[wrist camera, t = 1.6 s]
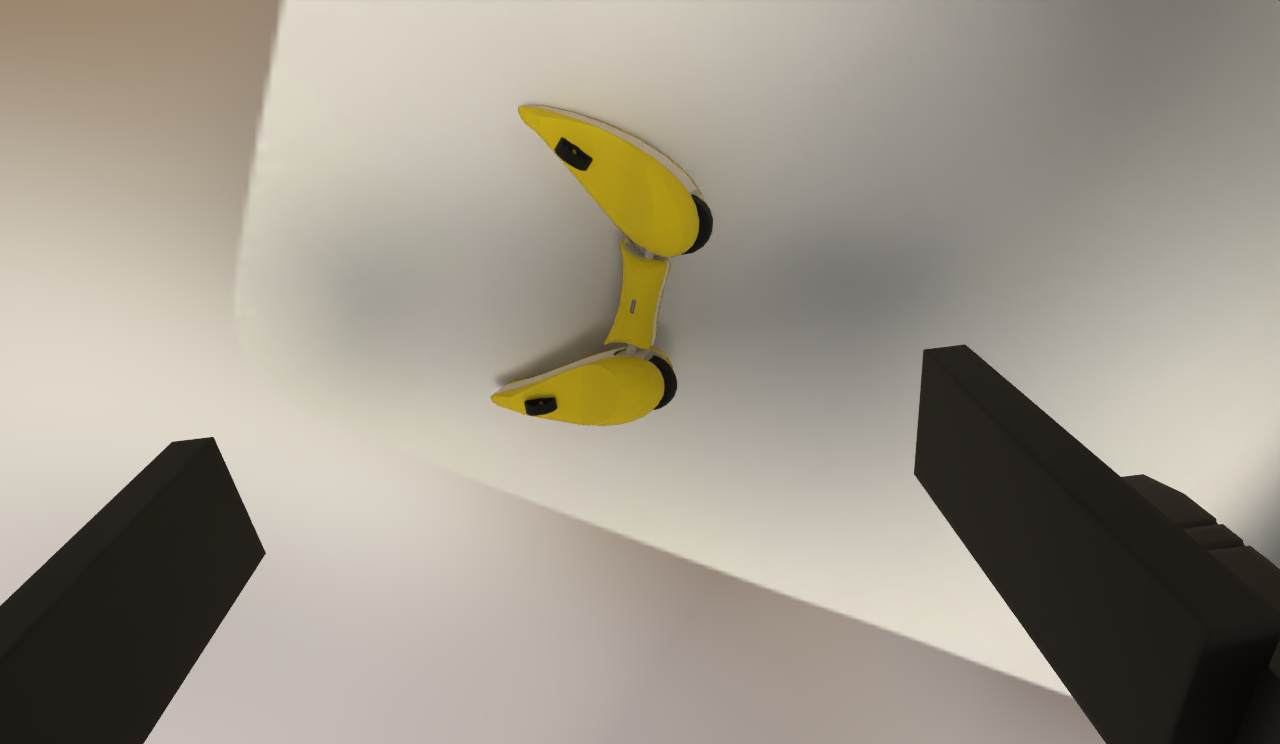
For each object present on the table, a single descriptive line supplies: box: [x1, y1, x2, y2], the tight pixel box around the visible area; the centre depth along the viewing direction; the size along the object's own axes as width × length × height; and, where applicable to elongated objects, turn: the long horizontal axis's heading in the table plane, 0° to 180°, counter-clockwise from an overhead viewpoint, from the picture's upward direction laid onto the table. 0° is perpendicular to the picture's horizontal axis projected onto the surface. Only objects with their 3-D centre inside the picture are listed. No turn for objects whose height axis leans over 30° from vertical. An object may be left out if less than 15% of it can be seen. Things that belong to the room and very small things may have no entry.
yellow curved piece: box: [490, 105, 713, 426], centre depth 22 cm, size 10×6×4 cm, turn 170°
